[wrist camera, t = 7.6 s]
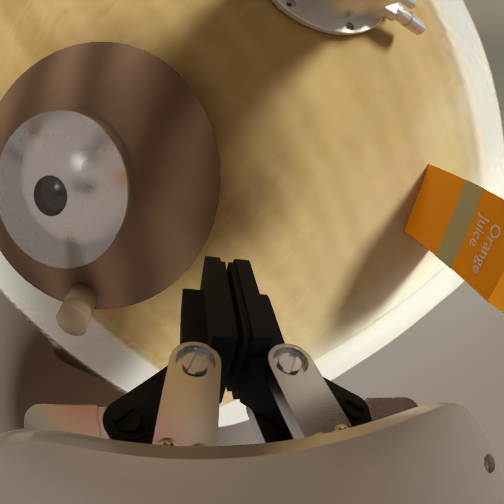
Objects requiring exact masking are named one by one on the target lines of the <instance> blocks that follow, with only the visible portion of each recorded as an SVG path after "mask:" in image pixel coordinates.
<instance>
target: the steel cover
mask: <svg viewBox="0 0 504 504" xmlns="http://www.w3.org/2000/svg"><path fill="white" fill-rule="evenodd" d="M134 183H135V180H134V169H133V164H132V160H131V157H130V153H129V151H128V149H127V146H126V144H125V142H124V141H123V139H122V137H121V136H120V134H119V133H118V132H117V131H116V129H115V128H114V127H113V126H112V125H111V124H110V123H108V122H107V121H106V120H105V119H103V118H101V117H100V116H98V115H96V114H94V113H91V112H88V111H84V110H77V109H70V110H58V111H49V112H44V113H41V114H38V115H36V116H34V117H32V118H30V119H28V120H27V121H26V122H24V123H23V124H22V125H21V126H19V127H18V128H17V129H16V130H15V132H14V133H13V134H12V135H11V137H10V138H9V140H8V141H7V143H6V145H5V147H4V149H3V151H2V153H1V156H0V216H1V219H2V221H3V223H4V226H5V228H6V229H7V231H8V233H9V235H10V236H11V237H12V239H13V240H14V242H15V243H16V244H17V245H18V246H19V247H20V248H21V249H22V250H23V251H24V252H25V253H26V254H28V255H29V256H30V257H32V258H33V259H35V260H37V261H39V262H40V263H43V264H45V265H48V266H52V267H56V268H75V267H80V266H83V265H86V264H88V263H90V262H92V261H94V260H95V259H97V258H98V257H99V256H101V255H102V254H103V253H104V252H105V251H106V250H107V249H108V248H109V246H110V245H111V244H112V242H113V240H114V239H115V237H116V235H117V233H118V232H119V230H120V228H121V226H122V224H123V223H124V221H125V219H126V217H127V215H128V213H129V210H130V208H131V204H132V201H133V195H134Z"/></svg>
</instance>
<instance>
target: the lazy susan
mask: <svg viewBox="0 0 504 504" xmlns="http://www.w3.org/2000/svg"><path fill="white" fill-rule="evenodd" d="M70 109H77V110H84V111H88V112H91V113H94V114H96V115H98V116H100V117H101V118H103V119H105V120H106V121H107V122H108V123H110V124H111V125H112V126H113V127H114V128H115V129H116V131H117V132H118V133H119V134H120V136H121V137H122V139H123V141H124V142H125V144H126V146H127V149H128V151H129V153H130V157H131V160H132V164H133V169H134V180H135V183H134V195H133V201H132V204H131V208H130V210H129V213H128V215H127V217H126V219H125V221H124V223H123V224H122V226H121V228H120V230H119V232H118V233H117V235H116V237H115V239H114V240H113V242H112V244H111V245H110V246H109V248H108V249H107V250H106V251H105V252H104V253H103V254H102V255H101V256H99V257H98V258H97V259H95V260H94V261H92V262H90V263H88V264H86V265H83V266H80V267H75V268H56V267H52V266H48V265H45V264H43V263H40V262H39V261H37V260H35V259H33V258H32V257H30V256H29V255H28V254H26V253H25V252H24V251H23V250H22V249H21V248H20V247H19V246H18V245H17V244H16V243H15V242H14V240H13V239H12V237H11V236H10V235H9V233H8V231H7V229H6V228H5V226H4V223H3V221H2V219H1V216H0V251H1V252H2V254H3V255H4V257H5V258H6V259H7V261H8V262H9V263H10V264H11V266H12V267H13V268H14V269H15V270H16V271H17V272H18V273H19V274H20V275H21V276H22V277H23V278H24V279H25V280H27V281H28V282H29V283H30V284H32V285H33V286H34V287H36V288H37V289H39V290H40V291H42V292H44V293H45V294H47V295H49V296H51V297H53V298H55V299H57V300H60V301H62V302H63V304H62V306H61V308H60V310H59V312H58V314H57V322H58V324H59V326H60V327H61V328H62V329H63V330H64V331H65V332H67V333H69V334H71V335H74V336H80V335H83V334H84V333H85V332H86V329H87V326H88V323H89V321H90V318H91V315H92V312H93V310H94V308H95V309H109V308H118V307H125V306H129V305H132V304H136V303H139V302H142V301H144V300H146V299H149V298H151V297H153V296H155V295H156V294H158V293H160V292H161V291H163V290H165V289H166V288H168V287H169V286H170V285H171V284H173V283H174V282H175V281H176V280H178V279H179V278H180V276H181V275H182V274H183V273H184V272H185V271H186V270H187V269H188V268H189V267H190V266H191V264H192V263H193V261H194V260H195V259H196V257H197V256H198V255H199V253H200V251H201V249H202V247H203V246H204V244H205V242H206V240H207V238H208V235H209V233H210V230H211V228H212V225H213V223H214V219H215V214H216V210H217V206H218V200H219V191H220V162H219V155H218V148H217V143H216V140H215V136H214V133H213V129H212V126H211V123H210V121H209V119H208V117H207V114H206V112H205V110H204V108H203V106H202V104H201V102H200V101H199V99H198V98H197V96H196V95H195V93H194V92H193V90H192V88H191V87H190V86H189V85H188V84H187V83H186V82H185V81H184V79H183V78H182V77H181V76H180V75H179V74H178V73H177V72H176V71H175V70H173V69H172V68H171V67H170V66H168V65H167V64H166V63H165V62H164V61H162V60H160V59H159V58H157V57H155V56H153V55H152V54H150V53H148V52H146V51H143V50H141V49H138V48H135V47H132V46H129V45H124V44H119V43H113V42H90V43H84V44H78V45H74V46H71V47H68V48H65V49H62V50H59V51H57V52H55V53H53V54H51V55H49V56H47V57H45V58H43V59H42V60H40V61H39V62H37V63H36V64H35V65H33V66H32V67H30V68H29V69H28V70H27V71H26V72H25V73H24V74H22V75H21V76H20V77H19V78H18V79H17V80H16V81H15V83H14V84H13V85H12V86H11V87H10V89H9V90H8V91H7V92H6V94H5V95H4V97H3V98H2V100H1V101H0V156H1V153H2V151H3V149H4V147H5V145H6V143H7V141H8V140H9V138H10V137H11V135H12V134H13V133H14V132H15V130H16V129H17V128H18V127H19V126H21V125H22V124H23V123H24V122H26V121H27V120H28V119H30V118H32V117H34V116H36V115H38V114H41V113H44V112H49V111H58V110H70Z"/></svg>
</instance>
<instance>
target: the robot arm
mask: <svg viewBox="0 0 504 504" xmlns="http://www.w3.org/2000/svg"><path fill="white" fill-rule="evenodd" d="M271 1H272V2H273V3H274V4H275V5H276V6H277V7H278V8H279V9H280V10H282V11H283V12H284V13H285V14H287V15H288V16H289V17H291V18H293V19H294V20H296V21H298V22H299V23H301V24H303V25H305V26H308V27H310V28H312V29H314V30H318V31H321V32H324V33H328V34H335V35H354V34H359V33H362V32H365V31H368V30H370V29H372V28H374V27H375V26H377V25H378V24H379V23H380V21H381V20H382V19H383V17H385V18H387V19H389V20H390V21H394V20H396V21H398V22H399V23H401V24H402V25H403V26H404V27H406V28H407V29H409V30H410V31H411V32H413V33H414V34H416V35H420V34H422V33H423V32H424V31H425V28H426V24H425V22H423V21H422V20H421V19H419V18H418V17H417V16H415V15H414V14H412V13H411V12H408V11H407V10H405V9H404V8H403V5H402V4H404V5H405V6H407V7H408V8H409V9H413V8H414V7H415V6H416V4H417V2H416V0H271ZM400 2H401V3H402V4H401V3H400ZM287 4H288V5H290V7H289V6H287ZM225 388H227V391H232V395H233V399H240V402H241V403H243V404H244V405H246V410H247V414H248V417H249V419H250V422H251V424H252V427H253V429H254V432H255V434H256V437H257V439H258V442H259V444H249V445H235V446H217V440H218V439H217V437H218V418H219V404H220V403H221V402H222V398H223V395H224V391H225ZM0 504H504V473H503V470H502V468H501V465H500V463H499V461H498V459H497V456H496V454H495V452H494V450H493V448H492V446H491V444H490V442H489V440H488V438H487V436H486V434H485V432H484V431H483V429H482V427H481V426H480V424H479V422H478V421H477V419H476V418H475V417H474V415H473V414H472V413H471V411H470V410H469V409H468V408H466V407H464V406H463V405H460V404H457V403H448V402H437V403H430V404H425V405H421V406H417V404H416V403H415V402H414V401H413V400H412V399H410V398H406V397H396V398H366V399H365V400H363V399H362V398H360V397H359V396H357V395H355V394H353V393H351V392H349V391H348V390H346V389H344V388H342V387H340V386H338V385H336V384H335V383H333V382H331V381H329V380H328V379H326V378H324V377H322V375H321V373H320V372H319V370H318V368H317V367H316V365H315V363H314V362H313V360H312V358H311V357H310V355H309V354H308V353H307V352H306V351H305V350H303V349H302V348H300V347H298V346H296V345H292V344H285V343H284V340H283V337H282V334H281V331H280V328H279V325H278V323H277V320H276V317H275V314H274V311H273V308H272V305H271V302H270V300H269V297H268V296H267V295H263V294H260V293H259V290H258V287H257V284H256V280H255V277H254V274H253V271H252V268H251V264H250V262H249V260H239V259H234V261H233V263H231V262H229V263H228V267H227V270H226V264H225V262H221V261H220V258H219V257H209V256H205V260H204V266H203V273H202V280H201V287H200V290H194V289H183V293H182V305H181V324H180V345H178V346H177V347H176V348H175V349H174V350H173V351H172V353H171V355H170V359H169V364H168V366H167V367H165V368H164V369H162V370H161V371H159V372H158V373H156V374H155V375H154V376H152V377H151V378H149V379H148V380H146V381H145V382H143V383H142V384H140V385H139V386H137V387H136V388H134V389H133V390H131V391H130V392H128V393H127V394H125V395H124V396H122V397H120V398H119V399H117V400H116V401H114V402H113V403H112V404H111V405H109V406H108V407H96V405H52V404H50V405H49V404H38V405H34V406H32V407H31V408H30V409H29V410H28V411H27V413H26V415H25V419H24V429H20V430H14V431H10V432H6V433H3V434H1V435H0Z"/></svg>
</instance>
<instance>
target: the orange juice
mask: <svg viewBox="0 0 504 504" xmlns="http://www.w3.org/2000/svg"><path fill="white" fill-rule="evenodd" d="M404 231H405V232H407V233H408V234H409V235H411V236H412V237H413V238H415V239H416V240H417V241H418V242H420V243H421V244H422V245H424V246H425V247H426V248H427V249H429V250H430V251H431V252H432V253H433V254H435V256H436V257H438V258H439V259H440V260H441V261H442V262H444V263H445V264H446V265H447V266H448V267H449V268H451V269H453V270H454V271H455V272H456V273H457V274H458V275H459V276H460V277H462V278H463V279H464V280H465V281H466V282H467V283H468V284H469V285H470V286H472V287H473V288H474V289H475V290H476V291H477V292H478V293H479V294H480V295H481V296H482V297H483V298H484V299H485V300H486V301H487V302H488V303H491V304H492V305H493V306H495V307H496V308H498V309H499V310H501V311H502V312H503V313H504V200H503V199H502V198H500V197H498V196H496V195H494V194H492V193H491V192H489V191H487V190H485V189H484V188H482V187H480V186H478V185H476V184H474V183H472V182H470V181H468V180H464V179H462V178H460V177H458V176H456V175H453V174H451V173H449V172H447V171H444V170H442V169H440V168H437V167H435V166H432V165H430V164H428V167H427V170H426V173H425V176H424V179H423V182H422V185H421V188H420V190H419V193H418V196H417V199H416V201H415V204H414V207H413V209H412V212H411V214H410V217H409V219H408V222H407V224H406V226H405V229H404Z"/></svg>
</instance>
